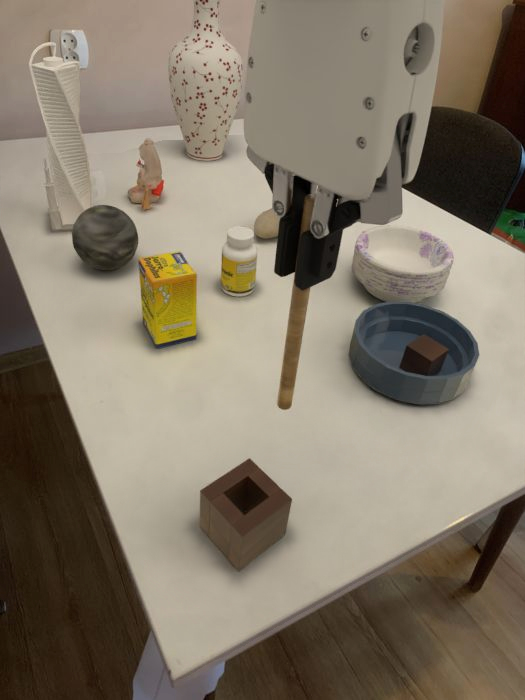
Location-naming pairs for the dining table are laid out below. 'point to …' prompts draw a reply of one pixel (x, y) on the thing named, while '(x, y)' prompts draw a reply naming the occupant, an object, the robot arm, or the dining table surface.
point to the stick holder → (256, 501)
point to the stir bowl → (390, 343)
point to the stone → (267, 224)
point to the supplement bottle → (239, 262)
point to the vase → (205, 83)
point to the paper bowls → (401, 263)
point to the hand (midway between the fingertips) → (303, 274)
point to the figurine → (147, 177)
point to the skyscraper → (62, 139)
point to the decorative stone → (105, 237)
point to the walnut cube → (424, 356)
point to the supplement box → (168, 298)
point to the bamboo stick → (295, 324)
